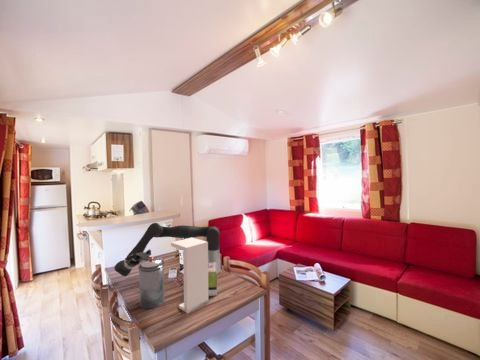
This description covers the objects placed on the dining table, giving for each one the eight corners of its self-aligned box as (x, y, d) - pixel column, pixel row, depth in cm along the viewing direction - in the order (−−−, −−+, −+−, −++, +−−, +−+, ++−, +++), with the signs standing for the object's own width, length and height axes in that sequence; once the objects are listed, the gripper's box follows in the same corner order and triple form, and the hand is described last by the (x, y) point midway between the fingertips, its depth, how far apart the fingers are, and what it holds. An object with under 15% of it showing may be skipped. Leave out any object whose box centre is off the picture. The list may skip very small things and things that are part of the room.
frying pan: (182, 256, 203) (181, 249, 203) (188, 260, 193) (188, 252, 193) (144, 264, 184) (144, 256, 184) (149, 269, 174) (149, 261, 174)
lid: (128, 260, 135) (128, 253, 135) (146, 255, 143) (146, 248, 143) (146, 270, 119) (146, 262, 119) (165, 264, 127) (165, 257, 127)
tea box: (201, 284, 148) (201, 262, 148) (217, 284, 149) (217, 261, 148) (199, 296, 133) (199, 271, 133) (217, 296, 134) (216, 271, 133)
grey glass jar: (162, 293, 136) (162, 259, 136) (166, 305, 124) (166, 267, 124) (138, 299, 130) (137, 263, 130) (139, 312, 118) (139, 272, 118)
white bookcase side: (171, 302, 126) (171, 242, 126) (192, 293, 137) (191, 237, 136) (187, 313, 116) (186, 247, 116) (208, 302, 127) (207, 241, 126)
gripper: (144, 263, 147) (156, 255, 138) (122, 270, 136) (132, 262, 127) (142, 252, 150) (152, 244, 141) (119, 258, 139) (129, 249, 130)
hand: (143, 252), depth 134 cm, fingers open, 8 cm apart
